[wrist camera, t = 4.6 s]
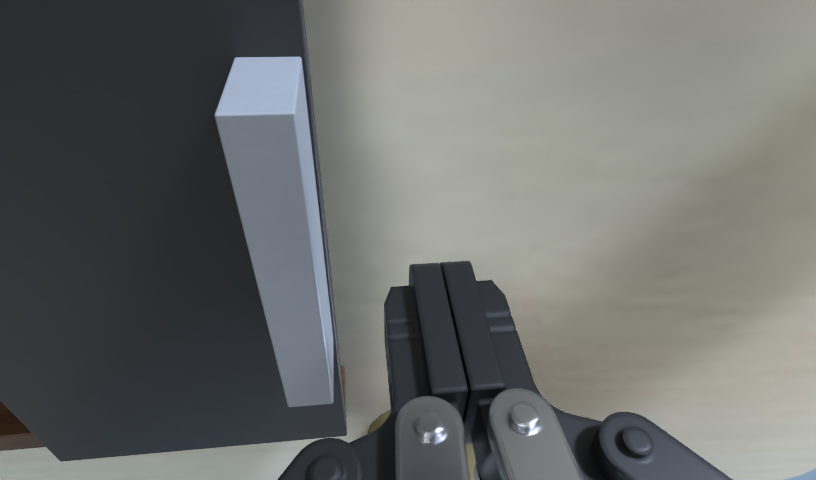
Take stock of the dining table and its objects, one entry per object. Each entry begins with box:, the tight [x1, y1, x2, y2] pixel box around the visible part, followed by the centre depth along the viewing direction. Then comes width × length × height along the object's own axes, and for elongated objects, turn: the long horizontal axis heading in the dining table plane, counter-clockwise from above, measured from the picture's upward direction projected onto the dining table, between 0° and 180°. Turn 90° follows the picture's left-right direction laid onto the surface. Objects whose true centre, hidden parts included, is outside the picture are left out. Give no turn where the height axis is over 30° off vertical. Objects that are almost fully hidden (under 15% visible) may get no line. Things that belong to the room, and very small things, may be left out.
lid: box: [0, 0, 347, 461], centre depth 13 cm, size 24×12×3 cm, turn 178°
